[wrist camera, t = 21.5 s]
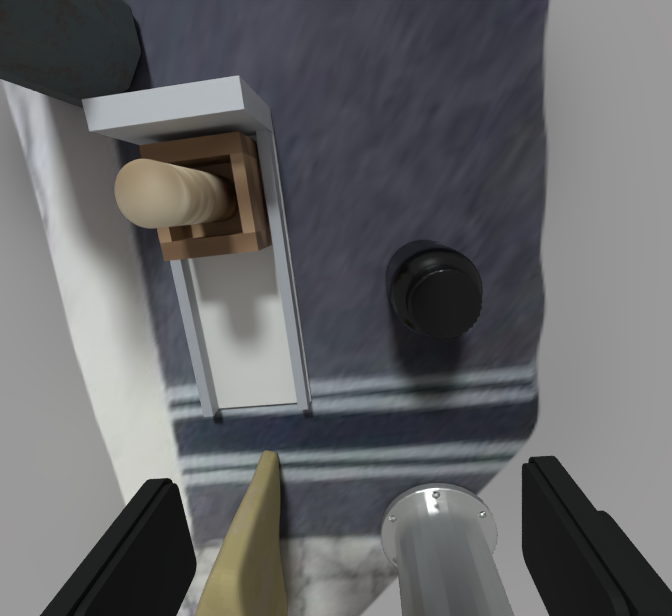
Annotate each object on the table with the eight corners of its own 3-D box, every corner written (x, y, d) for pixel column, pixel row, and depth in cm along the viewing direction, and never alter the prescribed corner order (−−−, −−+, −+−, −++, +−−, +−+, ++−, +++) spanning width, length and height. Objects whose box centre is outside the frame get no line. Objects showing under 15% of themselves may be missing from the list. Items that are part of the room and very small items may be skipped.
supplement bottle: (457, 235, 36) (503, 249, 24) (457, 308, 38) (499, 353, 26) (382, 240, 37) (391, 256, 25) (385, 311, 38) (395, 357, 27)
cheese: (227, 439, 43) (159, 558, 29) (315, 456, 43) (291, 583, 28) (211, 594, 49) (147, 758, 34) (288, 609, 49) (257, 780, 34)
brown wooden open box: (272, 245, 37) (258, 250, 32) (189, 254, 37) (164, 261, 32) (256, 141, 34) (239, 131, 30) (169, 153, 35) (138, 145, 30)
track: (311, 399, 41) (298, 451, 32) (210, 407, 42) (170, 459, 33) (270, 108, 34) (239, 75, 26) (150, 125, 35) (81, 99, 27)
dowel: (243, 218, 35) (185, 224, 24) (201, 223, 36) (123, 231, 24) (235, 172, 34) (171, 154, 23) (192, 177, 35) (106, 163, 23)
